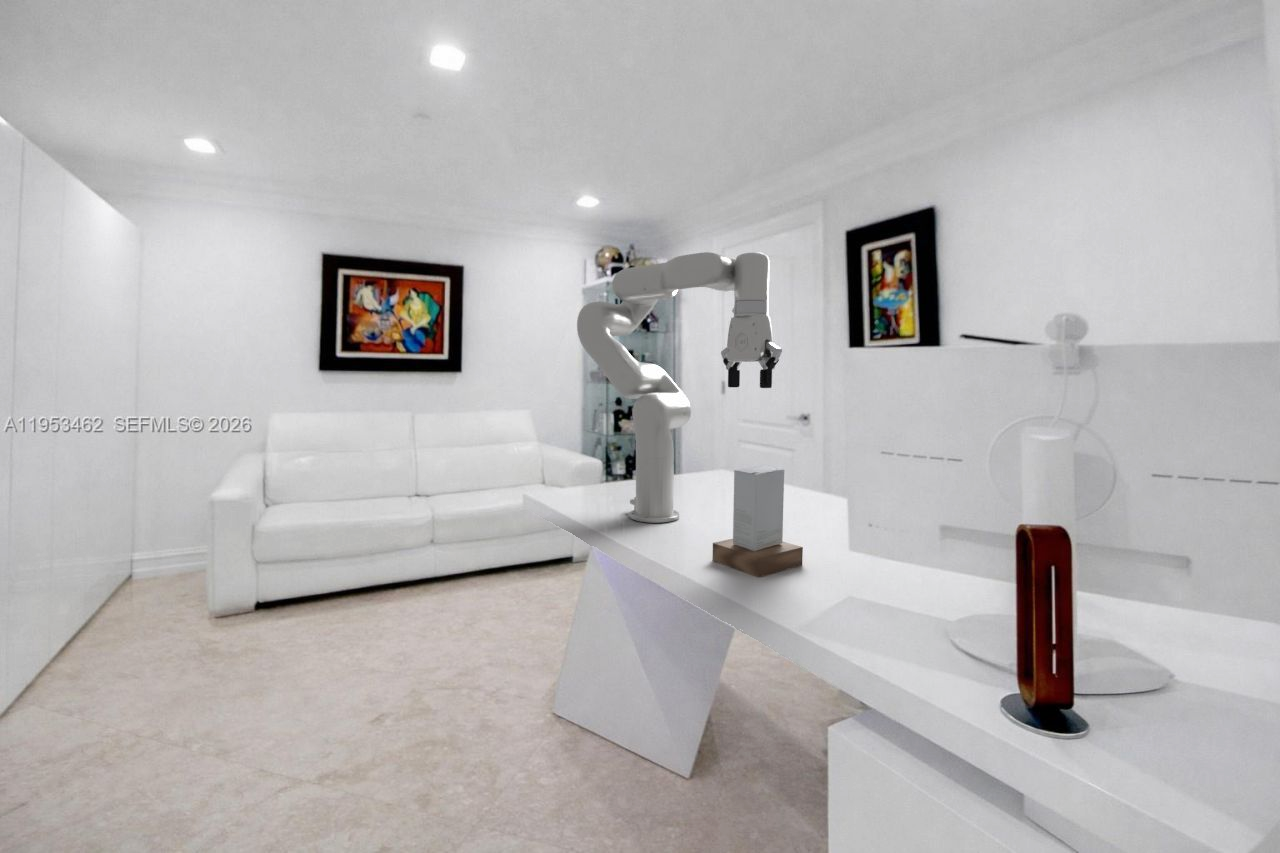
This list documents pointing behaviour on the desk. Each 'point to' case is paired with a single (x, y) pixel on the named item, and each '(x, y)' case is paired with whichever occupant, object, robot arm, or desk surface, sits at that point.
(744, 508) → the skincare box
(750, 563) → the walnut block
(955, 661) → the desk surface
